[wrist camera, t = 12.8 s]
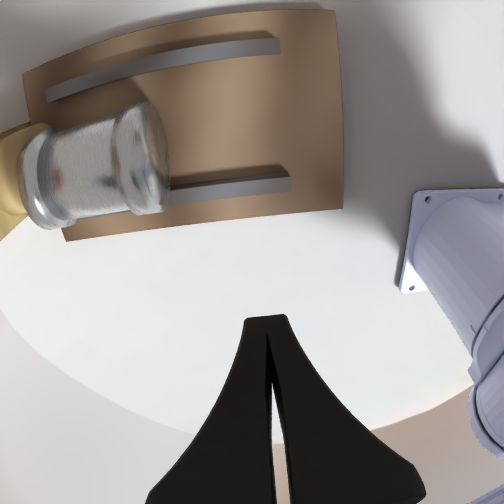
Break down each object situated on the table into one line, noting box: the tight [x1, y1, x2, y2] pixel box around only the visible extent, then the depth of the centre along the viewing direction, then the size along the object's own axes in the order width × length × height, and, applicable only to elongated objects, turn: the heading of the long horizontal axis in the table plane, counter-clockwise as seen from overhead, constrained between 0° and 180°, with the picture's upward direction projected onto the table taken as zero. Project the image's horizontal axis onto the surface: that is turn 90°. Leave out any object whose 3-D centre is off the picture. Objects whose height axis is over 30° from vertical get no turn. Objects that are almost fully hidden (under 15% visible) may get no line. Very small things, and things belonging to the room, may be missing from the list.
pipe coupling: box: [17, 101, 171, 230], centre depth 13 cm, size 6×5×5 cm
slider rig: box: [0, 10, 343, 242], centre depth 12 cm, size 22×11×9 cm, turn 96°
